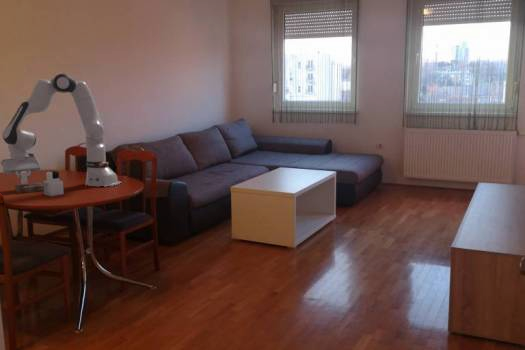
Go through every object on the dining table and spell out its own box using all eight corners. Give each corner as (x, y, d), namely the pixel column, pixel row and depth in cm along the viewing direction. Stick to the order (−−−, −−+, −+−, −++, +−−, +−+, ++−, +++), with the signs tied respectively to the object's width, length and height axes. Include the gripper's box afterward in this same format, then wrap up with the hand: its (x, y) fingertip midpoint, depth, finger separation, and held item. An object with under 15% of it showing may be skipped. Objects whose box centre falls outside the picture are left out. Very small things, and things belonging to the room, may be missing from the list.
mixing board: (50, 186, 321) (50, 181, 321) (55, 189, 312) (55, 184, 312) (15, 190, 310) (14, 184, 309) (19, 193, 301) (18, 187, 300)
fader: (27, 184, 310) (26, 170, 309) (29, 185, 306) (28, 172, 305) (19, 185, 308) (18, 171, 306) (21, 186, 304) (20, 172, 302)
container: (56, 192, 305) (55, 170, 303) (63, 194, 300) (62, 171, 298) (43, 194, 299) (42, 171, 297) (51, 196, 294) (49, 173, 292)
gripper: (0, 156, 304) (5, 176, 298) (38, 154, 315) (43, 172, 309) (-1, 163, 308) (4, 182, 302) (36, 160, 320) (41, 179, 314)
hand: (24, 177), depth 306 cm, fingers closed on fader, 3 cm apart
